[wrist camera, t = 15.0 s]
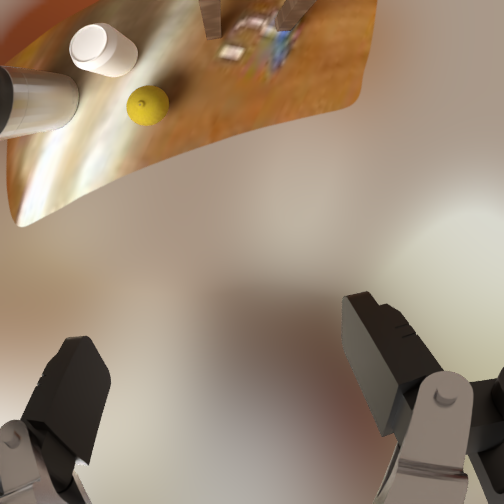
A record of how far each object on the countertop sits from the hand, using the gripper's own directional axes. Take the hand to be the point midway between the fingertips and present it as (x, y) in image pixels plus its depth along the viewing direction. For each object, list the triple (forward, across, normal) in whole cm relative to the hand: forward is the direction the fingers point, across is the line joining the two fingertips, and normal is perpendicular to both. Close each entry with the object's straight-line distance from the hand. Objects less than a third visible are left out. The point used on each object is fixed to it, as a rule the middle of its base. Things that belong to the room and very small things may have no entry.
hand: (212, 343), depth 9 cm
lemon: (+38, +8, -10) cm, 40 cm away
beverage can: (+38, +12, -19) cm, 44 cm away
